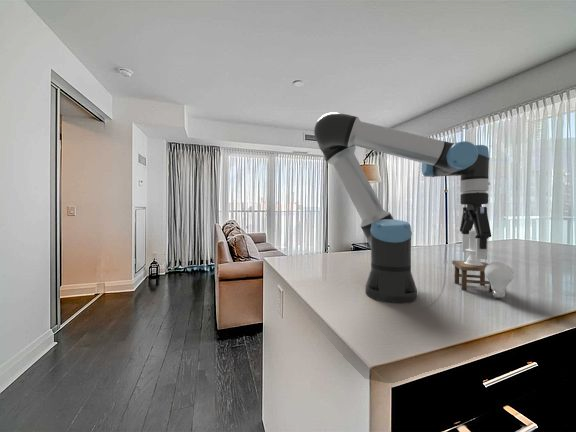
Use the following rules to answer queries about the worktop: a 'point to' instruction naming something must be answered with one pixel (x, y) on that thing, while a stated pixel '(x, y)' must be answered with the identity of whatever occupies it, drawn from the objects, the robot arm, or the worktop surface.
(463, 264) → the small wooden table
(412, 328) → the worktop surface
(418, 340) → the worktop surface
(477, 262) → the candle
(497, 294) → the light bulb
